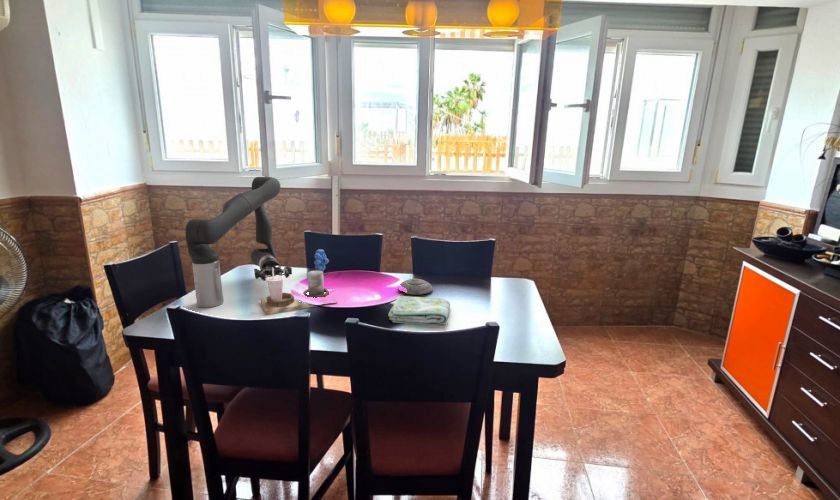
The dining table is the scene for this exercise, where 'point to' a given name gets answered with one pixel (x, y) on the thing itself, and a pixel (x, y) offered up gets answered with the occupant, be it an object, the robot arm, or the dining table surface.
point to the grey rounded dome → (417, 286)
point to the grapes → (320, 260)
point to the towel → (420, 310)
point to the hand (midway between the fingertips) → (276, 276)
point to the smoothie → (275, 287)
